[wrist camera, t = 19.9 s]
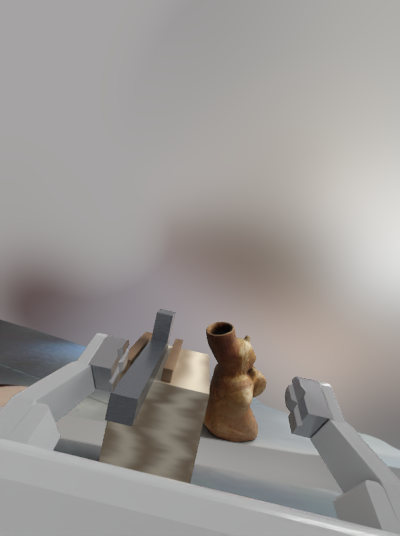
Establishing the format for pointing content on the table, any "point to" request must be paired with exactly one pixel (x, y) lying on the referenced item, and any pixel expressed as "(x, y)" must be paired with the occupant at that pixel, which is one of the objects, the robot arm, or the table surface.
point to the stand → (163, 417)
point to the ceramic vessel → (232, 385)
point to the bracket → (140, 374)
